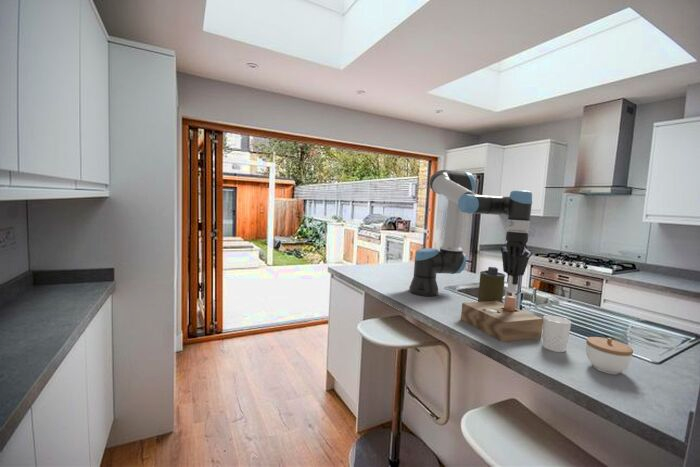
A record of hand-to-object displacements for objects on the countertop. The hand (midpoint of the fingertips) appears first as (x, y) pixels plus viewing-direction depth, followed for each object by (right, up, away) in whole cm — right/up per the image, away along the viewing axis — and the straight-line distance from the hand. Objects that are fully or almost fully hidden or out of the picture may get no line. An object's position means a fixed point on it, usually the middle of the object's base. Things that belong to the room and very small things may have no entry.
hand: (511, 292), depth 125 cm
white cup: (+6, -16, -16) cm, 24 cm away
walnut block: (-5, -14, 0) cm, 15 cm away
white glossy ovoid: (-9, -13, -2) cm, 16 cm away
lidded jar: (+13, -18, -30) cm, 37 cm away
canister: (0, -13, +21) cm, 24 cm away
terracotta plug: (-1, -8, +1) cm, 8 cm away
